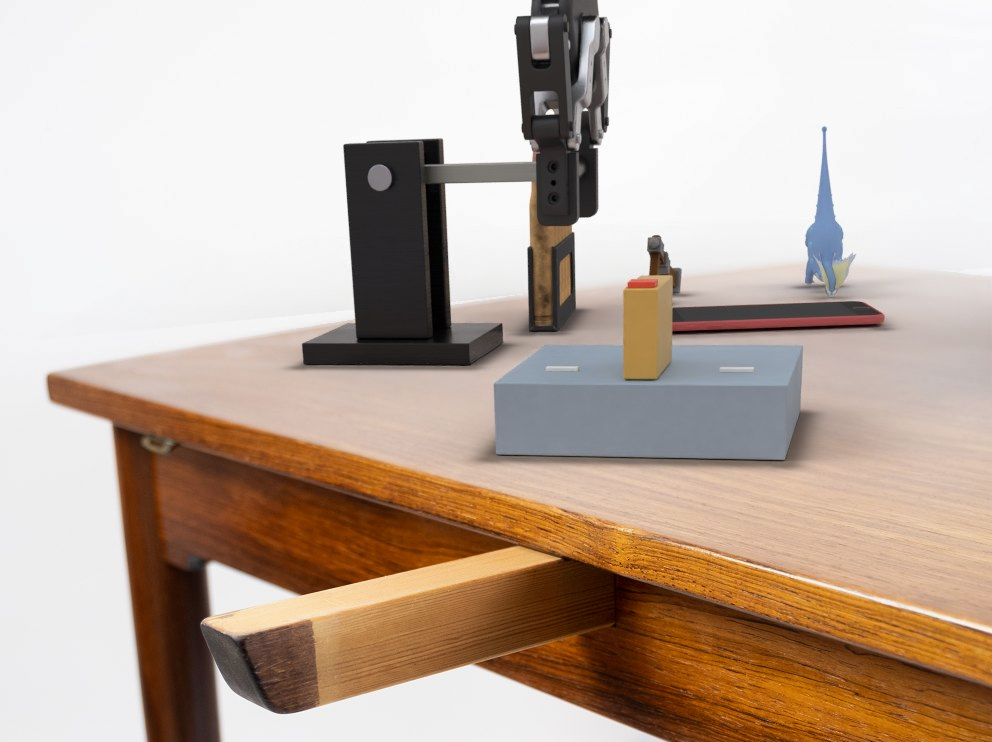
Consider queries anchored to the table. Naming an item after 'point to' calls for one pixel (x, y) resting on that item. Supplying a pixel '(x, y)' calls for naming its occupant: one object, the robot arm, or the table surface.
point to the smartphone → (774, 315)
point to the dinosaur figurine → (826, 238)
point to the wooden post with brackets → (662, 262)
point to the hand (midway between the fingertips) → (568, 219)
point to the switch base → (651, 403)
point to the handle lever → (489, 172)
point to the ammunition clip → (549, 271)
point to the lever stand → (399, 265)
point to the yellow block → (647, 326)
